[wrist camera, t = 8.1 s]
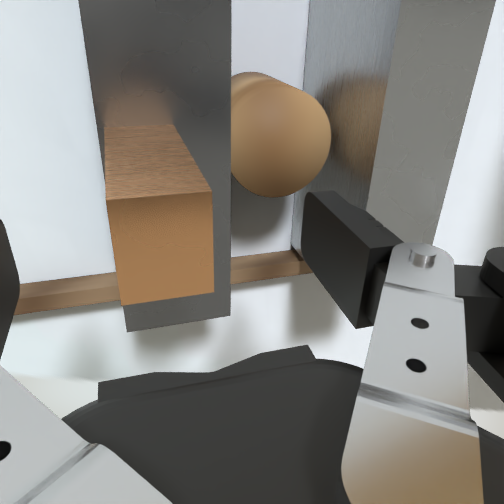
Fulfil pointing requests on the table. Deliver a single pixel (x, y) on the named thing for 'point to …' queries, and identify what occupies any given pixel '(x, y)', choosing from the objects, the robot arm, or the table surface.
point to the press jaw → (165, 152)
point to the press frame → (107, 288)
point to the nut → (275, 135)
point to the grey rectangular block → (392, 103)
